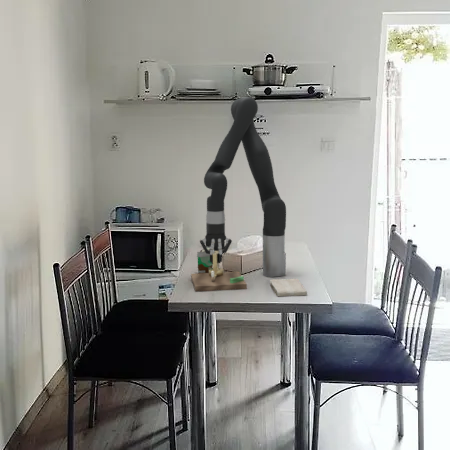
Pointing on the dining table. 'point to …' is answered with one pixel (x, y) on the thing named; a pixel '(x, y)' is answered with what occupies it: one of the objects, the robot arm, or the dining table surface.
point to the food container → (204, 261)
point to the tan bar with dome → (215, 267)
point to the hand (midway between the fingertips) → (215, 262)
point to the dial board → (218, 281)
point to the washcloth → (287, 287)
